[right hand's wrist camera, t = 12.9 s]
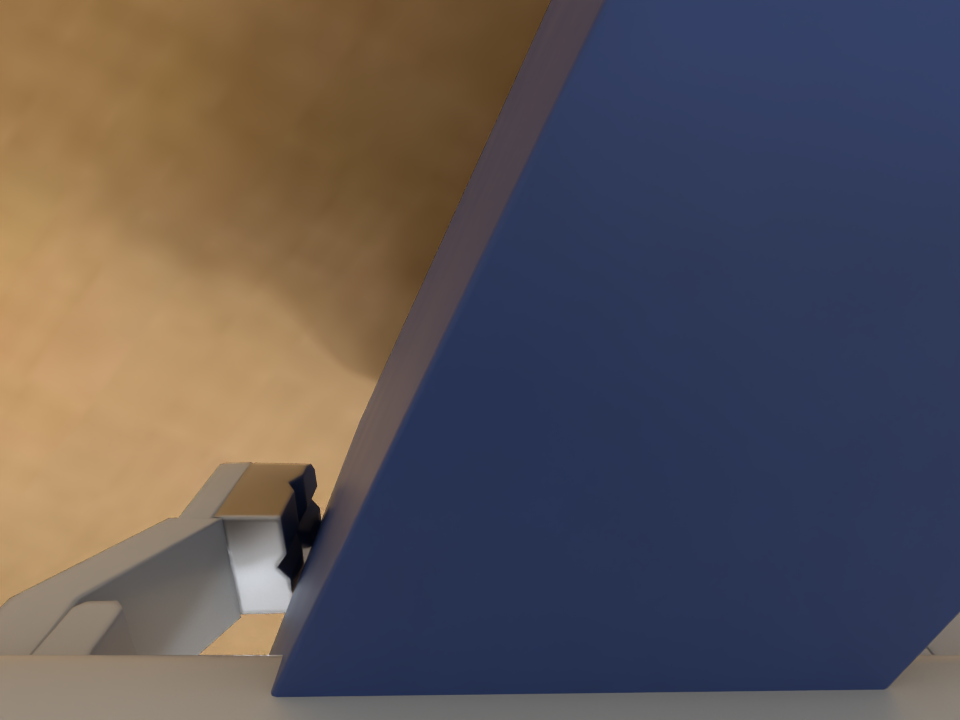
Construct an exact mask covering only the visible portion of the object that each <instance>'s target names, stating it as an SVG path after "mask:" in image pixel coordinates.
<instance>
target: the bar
mask: <svg viewBox="0 0 960 720" xmlns="http://www.w3.org/2000/svg"><path fill="white" fill-rule="evenodd" d="M959 613H960V0H551V2H550V4H549V6H548V8H547V11H546V13H545V15H544V17H543V19H542V22H541V24H540V26H539V28H538V30H537V33H536V35H535V37H534V39H533V41H532V44H531V46H530V48H529V50H528V52H527V55H526V57H525V59H524V61H523V64H522V66H521V68H520V70H519V72H518V75H517V77H516V79H515V81H514V83H513V86H512V88H511V90H510V92H509V94H508V97H507V99H506V101H505V103H504V105H503V108H502V110H501V112H500V114H499V116H498V119H497V121H496V123H495V125H494V127H493V130H492V132H491V134H490V136H489V138H488V141H487V143H486V145H485V147H484V149H483V152H482V154H481V156H480V158H479V160H478V163H477V165H476V167H475V169H474V171H473V174H472V176H471V178H470V180H469V182H468V185H467V187H466V189H465V191H464V193H463V196H462V198H461V200H460V202H459V204H458V207H457V209H456V211H455V213H454V215H453V218H452V220H451V222H450V224H449V226H448V229H447V231H446V233H445V235H444V237H443V240H442V242H441V244H440V246H439V248H438V251H437V253H436V255H435V257H434V259H433V262H432V264H431V266H430V268H429V270H428V273H427V275H426V277H425V279H424V281H423V284H422V286H421V288H420V290H419V293H418V295H417V297H416V299H415V301H414V304H413V306H412V308H411V310H410V312H409V315H408V317H407V319H406V321H405V323H404V326H403V328H402V330H401V332H400V334H399V337H398V339H397V341H396V343H395V345H394V348H393V350H392V352H391V354H390V356H389V359H388V361H387V363H386V365H385V367H384V370H383V372H382V374H381V376H380V378H379V381H378V383H377V385H376V387H375V389H374V392H373V394H372V396H371V398H370V400H369V403H368V405H367V407H366V409H365V411H364V414H363V416H362V418H361V420H360V423H359V425H358V428H357V430H356V433H355V435H354V438H353V441H352V443H351V446H350V448H349V451H348V453H347V456H346V459H345V461H344V464H343V466H342V469H341V471H340V474H339V477H338V479H337V482H336V484H335V487H334V489H333V492H332V495H331V497H330V500H329V502H328V505H327V507H326V510H325V513H324V515H323V518H322V520H321V523H320V525H319V528H318V531H317V533H316V536H315V538H314V541H313V543H312V546H311V549H310V551H309V554H308V556H307V559H306V561H305V564H304V567H303V569H302V572H301V574H300V577H299V579H298V582H297V585H296V587H295V590H294V592H293V595H292V597H291V600H290V603H289V605H288V608H287V610H286V613H285V615H284V618H283V621H282V623H281V626H280V628H279V631H278V633H277V636H276V639H275V641H274V644H273V646H272V649H271V651H270V654H269V655H283V656H282V660H281V663H280V666H279V669H278V672H277V675H276V678H275V681H274V684H273V687H272V690H271V695H272V696H274V697H329V696H409V695H489V694H569V693H649V692H729V691H809V690H884V689H886V688H888V687H889V686H890V685H891V684H892V683H893V682H894V681H895V680H896V679H897V678H898V677H899V676H900V674H901V673H902V672H903V671H904V670H905V669H906V668H907V667H908V666H909V665H910V664H911V663H912V662H913V661H914V660H915V659H916V658H917V657H918V656H919V655H920V654H921V652H922V651H923V650H924V649H925V648H926V647H927V646H928V645H929V644H930V643H931V642H932V641H933V640H934V639H935V638H936V637H937V636H938V635H939V634H940V633H941V632H942V630H943V629H944V628H945V627H946V626H947V625H948V624H949V623H950V622H951V621H952V620H953V619H954V618H955V617H956V616H957V615H958V614H959Z"/></svg>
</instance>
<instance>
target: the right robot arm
mask: <svg viewBox="0 0 960 720" xmlns="http://www.w3.org/2000/svg"><path fill="white" fill-rule="evenodd" d="M316 487H317V482H316V475H315V469H314V468H313V466H312V465H311V464H288V463H251V462H246V463H224V464H220V465H219V466H218V467H217V469H216V470H215V471H214V472H213V474H212V475H211V476H210V478H209V479H208V480H207V481H206V483H205V484H204V485H203V487H202V488H201V489H200V490H199V492H198V493H197V494H196V496H195V497H194V498H193V499H192V501H191V502H190V503H189V505H188V506H187V507H186V509H185V510H184V511H183V512H182V514H181V515H180V516H179V518H168V519H166V520H164V521H162V522H160V523H158V524H156V525H154V526H152V527H150V528H148V529H146V530H144V531H142V532H140V533H138V534H136V535H134V536H132V537H130V538H128V539H126V540H124V541H122V542H120V543H118V544H116V545H114V546H112V547H110V548H108V549H106V550H104V551H102V552H100V553H98V554H96V555H94V556H92V557H91V558H89V559H87V560H85V561H83V562H81V563H79V564H77V565H75V566H73V567H71V568H69V569H67V570H65V571H63V572H61V573H59V574H57V575H55V576H53V577H51V578H49V579H47V580H45V581H43V582H41V583H39V584H37V585H35V586H33V587H31V588H29V589H27V590H25V591H23V592H21V593H19V594H17V595H15V596H13V597H11V598H9V599H8V600H7V601H6V602H5V603H4V604H3V605H2V606H1V607H0V720H960V613H959V614H958V615H957V616H956V617H955V618H954V619H953V620H952V621H951V622H950V623H949V624H948V625H947V626H946V627H945V628H944V629H943V630H942V632H941V633H940V634H939V635H938V636H937V637H936V638H935V639H934V640H933V641H932V642H931V643H930V644H929V645H928V646H927V647H926V648H925V649H924V650H923V651H922V652H921V654H920V655H919V656H918V657H917V658H916V659H915V660H914V661H913V662H912V663H911V664H910V665H909V666H908V667H907V668H906V669H905V670H904V671H903V672H902V673H901V674H900V676H899V677H898V678H897V679H896V680H895V681H894V682H893V683H892V684H891V685H890V686H889V687H888V688H886V689H884V690H809V691H729V692H649V693H569V694H489V695H409V696H329V697H274V696H272V695H271V690H272V687H273V684H274V681H275V678H276V675H277V672H278V669H279V666H280V663H281V660H282V656H283V655H199V654H200V653H201V652H202V651H203V650H204V649H206V648H207V647H208V646H209V645H210V644H211V643H212V642H213V641H215V640H216V639H217V638H218V637H219V636H220V635H221V634H223V633H224V632H225V631H226V630H227V629H228V628H229V627H230V626H232V625H233V624H234V623H235V622H236V621H237V620H238V619H239V618H241V614H269V613H286V610H287V608H288V605H289V603H290V600H291V597H292V595H293V592H294V590H295V587H296V585H297V582H298V579H299V577H300V574H301V572H302V569H303V567H304V564H305V561H306V559H307V556H308V554H309V551H310V549H311V546H312V543H313V541H314V538H315V536H316V533H317V531H318V528H319V525H320V523H321V515H320V508H319V507H318V506H317V504H316V503H315V502H314V501H313V500H312V497H313V494H314V492H315V490H316Z"/></svg>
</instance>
